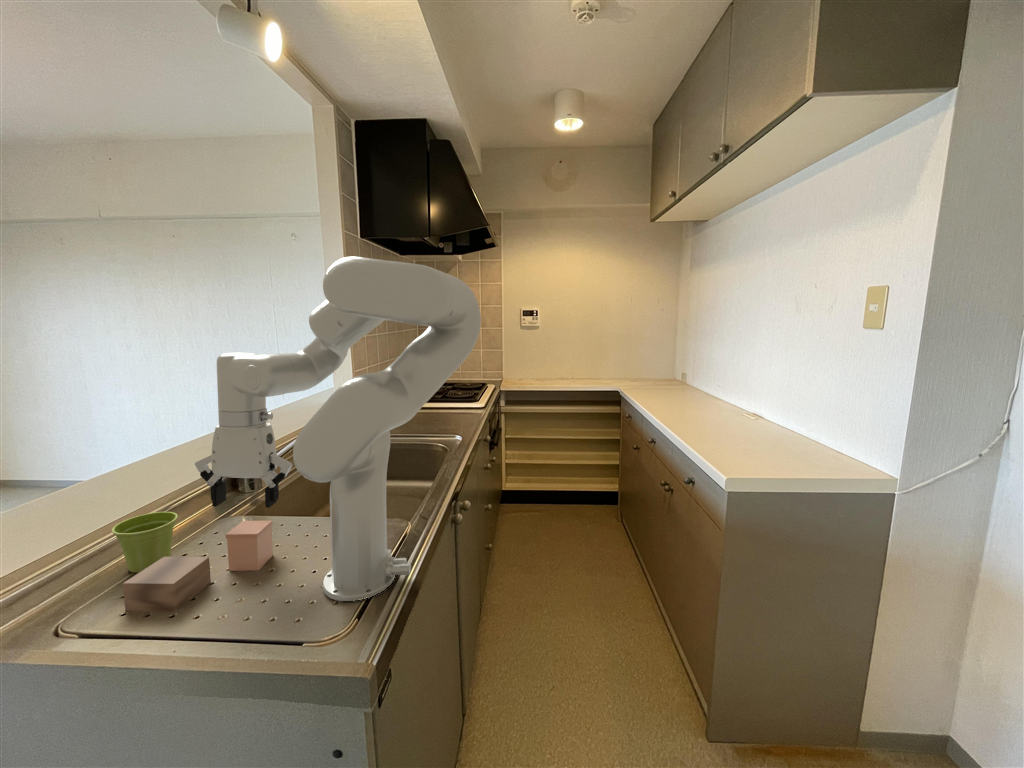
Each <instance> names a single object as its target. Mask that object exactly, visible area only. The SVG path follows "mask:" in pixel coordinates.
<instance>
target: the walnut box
mask: <svg viewBox="0 0 1024 768" xmlns="http://www.w3.org/2000/svg"><path fill="white" fill-rule="evenodd" d="M210 566H211V564H210V556H171V557H163V558H161V559H159V560H158V561H156V562H155V563H153V564H152V565H150V566H149V567H147V568H146V569H144V570H143V571H141V572H137V573H136V574H135V575H133V576H131V577H130V578H129V579H127V580H125V581H124V582H123V583H122V589H123V600H124V609H125V612H177V611H178V610H179V609H181V607H183V606H184V605H185V604H187V603H188V602H189V601H190V600H192V598H193V597H195V596H196V595H197V594H198V593H199V592H200V591H202V590H203V589H204V588H206V587H207V585H208V586H209V584H210V583H212V580H211V579H212V578H211V567H210Z"/></svg>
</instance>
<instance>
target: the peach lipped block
mask: <svg viewBox="0 0 1024 768" xmlns="http://www.w3.org/2000/svg"><path fill="white" fill-rule="evenodd" d="M272 526H273V520H242V521H241V522H239V523H238V524H237V525H236V526H235V527H233V528H232V529H231V530H229V531H228V532H227V533H226V534H225V539H226V543H227V560H228V571H230V572H235V571H236V572H240V571H245V572H246V571H259V570H261V569H262V568H263V566H264V565H265V564H267V562H268V561H269V560H270V559H271V558H273V556H274V552H273V551H274V549H273V530H272V528H273V527H272Z"/></svg>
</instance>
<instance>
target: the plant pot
mask: <svg viewBox="0 0 1024 768" xmlns="http://www.w3.org/2000/svg"><path fill="white" fill-rule="evenodd" d="M178 516H179V515H178V514H177V513H176V512H173V511H156V512H150V513H144V514H140V515H137V516H133V517H130V518H128V519H124V520H122V521H121V522H119V523H117V524H115V525H114V526H113V527H112V528H111V532H112V534H113V535H115V536H116V538H117V540H118V541H119V543H120V547H121V550H122V553H123V556H124V559H125V562H126V566H127V569H128V571H129V572H130V573H139V572H141V571H143V570H144V569H146V568H147V567H149V566H150V565H152V564H153V563H155V562H156V561H158V560H159V559H161V558H163V557H172V556H171V555H172V543H173V534H174V528H175V525H176V521H177V520H178Z"/></svg>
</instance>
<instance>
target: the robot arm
mask: <svg viewBox="0 0 1024 768" xmlns="http://www.w3.org/2000/svg"><path fill="white" fill-rule="evenodd" d="M322 289H323V295H324V297H325V298H326V299H325V300H323V302H321V303H320V304H319V305H318V306H317V307H315V308H314V309H313V310H312V311H311V312H310V314H309V316H308V324H309V327H310V329H311V331H312V333H313V335H314V336H315V338H314V339H313V340H312V341H311V342H310V343H309V344H307V345H306V346H305V347H304V348H302V349H301V350H299V351H298V352H290V353H288V352H287V353H285V352H284V353H273V354H269V353H267V354H260V353H255V352H237V351H235V352H234V351H233V352H224V353H221V354H220V355H219V356H218V357H217V359H216V378H217V379H216V381H217V383H216V385H217V386H216V387H217V409H218V412H217V413H218V424H216V425H215V428H214V433H213V437H212V443H211V444H212V445H211V455H209V456H206V457H203V458H201V459H200V460H198V461H195V462H194V466H195V468H196V470H197V471H198V472H199V475H200V477H201V478H202V479H203V480H204V481H205V482H206V485H207V486H208V487H210V500H211V505H212V507H214V508H215V507H218V506H220V505H221V504H223V503H224V502H226V501H227V482H226V481H225V480H224V479H225V478H229V479H231V478H232V479H234V478H237V479H238V478H239V479H260V480H262V481H263V482H264V483H265V484H266V487H265V488H264V506H265V508H267V509H268V508H271V507H272V506H273V505H275V504H276V503H277V502H278V501H279V497H280V496H279V495H280V494H279V492H280V491H279V484H280V483H281V482H282V481H283V480H284V479H285V478H286V477H287V476H288V475H289V473H290V471H291V469H292V467H293V464H294V466H295V468H296V470H297V471H298V473H299V474H300V475H301V476H302V477H303V478H305V479H306V480H309V481H311V482H314V483H315V482H316V483H330V487H329V513H330V515H329V516H330V518H329V519H330V521H329V522H330V544H331V545H330V547H331V549H330V550H331V570H328V572H327V573H326V574H325V576H324V578H323V581H322V591H323V593H324V595H326V596H327V597H328V598H329V599H332V600H334V601H338V602H343V601H353V602H355V601H354V600H359V599H362V598H366V597H367V598H368V599H371V598H370V597H372V596H374V595H376V594H378V593H379V592H381V591H383V590H384V589H386V588H387V587H388V586H389V585H390V584H391V583H392V581H393V580H394V578H395V579H396V577H395V575H396V576H397V575H398V576H409V575H410V574H411V571H412V565H411V563H409V562H408V563H407V559H408V558H407V557H398V558H395V556H392V549H391V548H390V549H388V535H387V534H388V533H387V532H388V529H387V528H388V527H387V525H388V524H387V519H388V518H387V476H388V475H387V472H388V463H389V456H390V451H391V450H390V449H391V432H390V431H392V430H394V429H396V428H399V427H400V426H402V425H405V424H407V423H408V422H409V421H411V420H412V419H413V418H414V417H415V416H416V415H417V414H418V413H419V411H420V410H422V408H423V407H424V406H425V405H426V403H428V402H429V400H431V398H432V397H433V396H434V395H435V394H436V393H437V392H438V391H439V390H440V389H441V388H442V387H443V385H444V384H445V383H446V382H447V380H448V379H449V378H451V376H452V375H453V374H455V372H456V371H457V370H458V369H459V368H460V367H461V366H462V365H463V363H464V362H465V361H466V360H467V359H468V357H469V356H470V355H471V353H472V351H474V350H473V349H474V348H475V345H476V343H477V341H478V338H479V335H480V332H481V324H482V317H481V316H482V315H481V309H480V306H479V302H478V300H477V297H476V294H475V293H474V291H473V290H472V289H471V288H470V286H469V285H468V284H466V282H465V281H463V280H461V279H460V278H458V277H457V276H454V275H452V274H450V273H446V272H444V271H441V270H439V269H437V268H434V267H431V266H428V265H424V264H418V263H412V262H411V263H410V262H403V261H394V260H384V259H377V258H371V257H370V258H369V257H364V256H363V257H362V256H357V255H356V256H345V257H341V258H340V259H338V260H336V261H335V262H333V263H332V264H331V265H330V266H329V267H328V268H327V270H326V272H325V273H324V277H323V280H322ZM385 321H388V322H390V321H391V322H394V323H402V324H408V325H414V326H422V327H427V328H426V330H424V332H423V333H422V334H420V335H419V336H418V337H416V338H415V339H414V340H413V341H411V342H410V343H409V344H408V345H407V346H406V347H405V349H404V350H403V351H402V353H401V354H400V355H399V356H398V357H397V358H396V359H394V361H393V362H392V363H391V364H390V365H389V366H387V367H386V368H385V369H383V370H379V371H376V372H370V373H364V374H363V373H362V374H360V375H356V376H354V377H352V378H350V379H348V380H347V381H345V382H344V383H343V384H341V385H340V386H339V387H338V388H337V389H336V390H334V392H333V393H332V394H331V395H330V397H328V399H327V400H326V401H325V402H324V403H323V404H322V405H321V406H320V407H319V408H318V410H317V411H316V413H314V415H313V416H312V417H311V418H310V419H309V421H307V423H306V424H305V425H304V426H303V427H302V429H301V430H300V431H299V432H298V435H297V436H296V438H295V441H294V444H293V448H292V449H293V450H292V458H293V462H291V461H289V460H287V459H285V458H283V457H281V456H279V455H278V453H277V445H276V438H275V434H274V430H273V426H272V424H271V423H270V422H268V421H272V420H273V418H274V414H273V412H268V408H267V407H266V406H267V404H266V403H267V399H266V398H270V397H275V396H276V397H277V396H281V395H286V394H292V393H299V392H304V391H306V390H307V391H308V390H310V389H312V388H314V387H316V386H317V385H319V384H321V382H323V381H325V379H327V378H328V377H329V376H331V375H332V374H333V373H334V372H335V371H337V370H338V369H339V368H340V367H341V366H342V364H343V362H344V361H345V359H346V357H347V355H348V351H349V350H350V348H352V347H353V346H354V345H355V344H357V343H358V342H360V340H362V339H363V338H364V337H365V336H367V335H368V334H369V333H370V332H371V331H373V330H374V329H375V328H377V327H379V326H380V325H381V324H383V322H385ZM210 463H211V469H210V466H209V464H210ZM278 467H279V468H280V471H279V473H278V472H276V470H277V469H278ZM394 581H395V580H394ZM386 590H387V589H386ZM378 595H379V594H378ZM376 596H377V595H376ZM374 597H375V596H374ZM372 598H373V597H372Z"/></svg>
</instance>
